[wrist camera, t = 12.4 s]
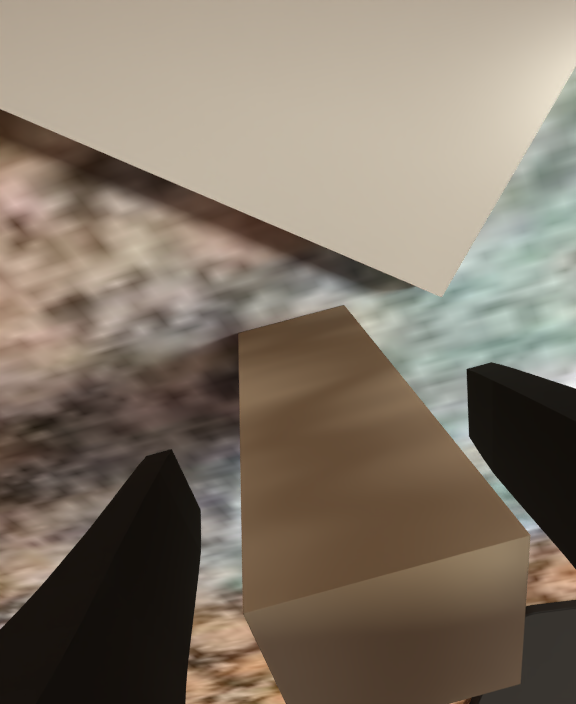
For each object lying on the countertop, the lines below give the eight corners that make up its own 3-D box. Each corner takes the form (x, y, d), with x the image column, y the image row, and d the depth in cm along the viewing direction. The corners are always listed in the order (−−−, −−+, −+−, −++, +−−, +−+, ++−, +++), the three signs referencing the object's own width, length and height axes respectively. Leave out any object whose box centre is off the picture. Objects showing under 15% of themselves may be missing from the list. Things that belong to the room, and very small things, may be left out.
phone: (648, 599, 20) (557, 746, 26) (633, 583, 20) (548, 730, 27) (513, 615, 19) (452, 764, 25) (502, 598, 20) (445, 747, 26)
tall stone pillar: (344, 305, 11) (530, 536, 4) (359, 394, 13) (520, 684, 6) (238, 333, 11) (243, 614, 4) (266, 420, 13) (304, 743, 6)
